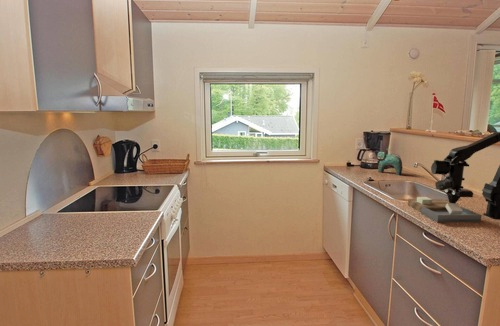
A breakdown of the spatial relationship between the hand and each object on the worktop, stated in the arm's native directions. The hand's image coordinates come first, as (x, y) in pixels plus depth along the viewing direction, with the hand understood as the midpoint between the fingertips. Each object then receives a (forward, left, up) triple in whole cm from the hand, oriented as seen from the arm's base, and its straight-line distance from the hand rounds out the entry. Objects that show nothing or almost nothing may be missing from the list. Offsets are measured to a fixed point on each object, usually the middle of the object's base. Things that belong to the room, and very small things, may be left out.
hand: (451, 206), depth 153 cm
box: (-5, +4, -4) cm, 8 cm away
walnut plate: (+8, +4, -4) cm, 10 cm away
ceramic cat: (+102, -18, -4) cm, 104 cm away
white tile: (-2, +1, -1) cm, 3 cm away
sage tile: (+9, +8, -1) cm, 12 cm away
